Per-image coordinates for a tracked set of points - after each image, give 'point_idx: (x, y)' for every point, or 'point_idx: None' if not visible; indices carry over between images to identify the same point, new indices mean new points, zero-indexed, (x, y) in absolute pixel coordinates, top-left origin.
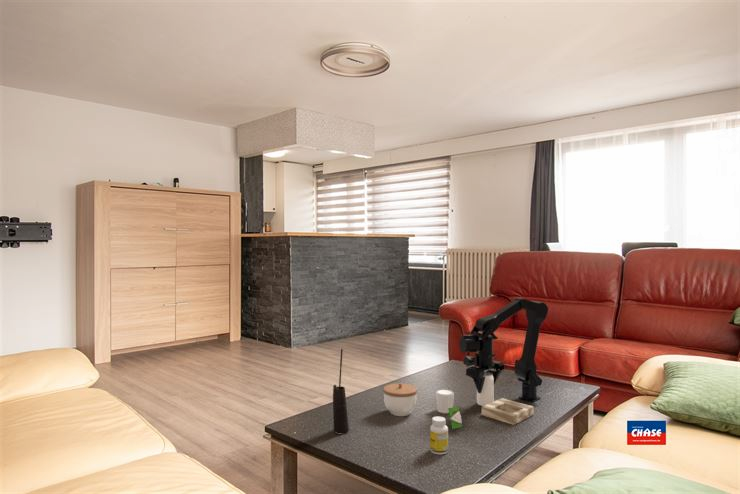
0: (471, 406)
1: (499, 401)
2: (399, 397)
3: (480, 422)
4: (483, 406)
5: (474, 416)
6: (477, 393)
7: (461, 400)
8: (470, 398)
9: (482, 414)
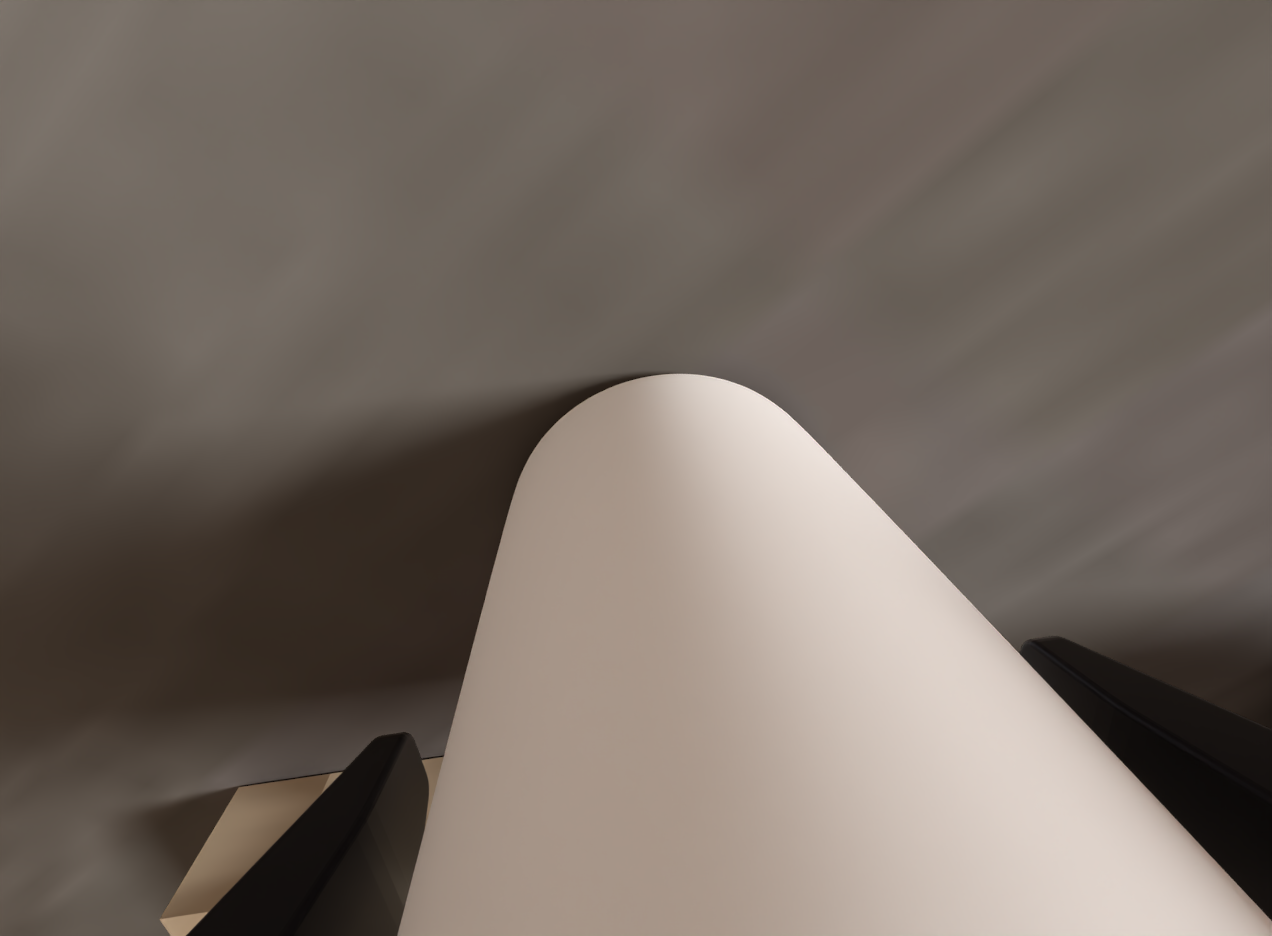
0: (347, 459)
1: None
2: None
3: (49, 923)
4: None
5: (92, 775)
6: (488, 589)
7: (405, 18)
8: (719, 59)
9: (239, 808)
